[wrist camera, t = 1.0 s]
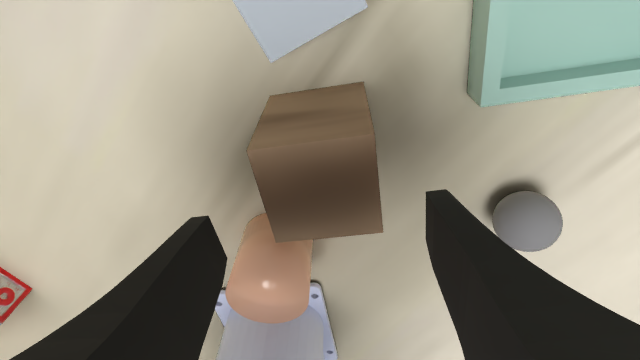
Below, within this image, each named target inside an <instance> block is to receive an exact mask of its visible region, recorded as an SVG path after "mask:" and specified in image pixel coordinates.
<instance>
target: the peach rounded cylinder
mask: <svg viewBox="0 0 640 360" xmlns="http://www.w3.org/2000/svg"><path fill="white" fill-rule="evenodd" d="M312 250H313V239H312V240H302V241H292V242H282V243H276V242H275V238H274V235H273V232H272V229H271V226H270V223H269V220H268V217H267V213H264V214H261V215H258V216H256V217H255V218H253V219H252V220H251V221H250V222H249V223H248V224H247V225H246V227H245V230H244V233H243V236H242V239H241V243H240V246H239V249H238V252H237V255H236V258H235V262H234V265H233V268H232V271H231V274H230V278H229V281H228V284H227V287H226V291H225V295H226V299H227V302H228V304H229V305H230V306H231V308H232V309H233V310H234V311H236V312H237V313H238V314H240V315H241V316H243V317H245V318H247V319H250V320H253V321H256V322H261V323H270V324H274V323H284V322H288V321H291V320H293V319H296V318H297V317H299V316H300V315H302V314H303V313H304V312H305V310H306V309H307V307H308V304H309V293H310V278H311V264H312Z"/></svg>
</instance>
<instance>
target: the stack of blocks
mask: <svg viewBox="0 0 640 360" xmlns="http://www.w3.org/2000/svg"><path fill="white" fill-rule="evenodd" d="M31 290H32V288H31V287H29V286H28V285H26V284H25V283H23V282H22V281H20V280H19V279H17V278H16V277H14V276H13V275H11V274H10V273H8V272H7V271H5V270H4V269H2V268H1V267H0V325H1V324H2V323H3V322H4V321H5V320H6V319H7V318H8V317H9V315H10V314H11V313H12V312H13V311H14V309H15V308H16V307H17V306H18V305H19V304H20V303H21V301H22V300H23V299H24V298H25V297H26V296H27V295H28V294H29V293H30V292H31Z"/></svg>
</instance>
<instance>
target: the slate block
mask: <svg viewBox="0 0 640 360" xmlns="http://www.w3.org/2000/svg"><path fill="white" fill-rule="evenodd" d="M233 2H234V4H235V5H236V7H237V9H238V10H239V12H240V14H241V15H242V17H243V18H244V20H245V22H246V23H247V25H248V27H249V28H250V30H251V31H252V33H253V35H254V36H255V38H256V40H257V41H258V43H259V45H260V46H261V48H262V49H263V51H264V53H265V54H266V56H267V58H268V59H269V61H270V62H271V63H272V62H274V61H275V60H277V59H279V58H281V57H282V56H284V55H286V54H287V53H289V52H291V51H293V50H294V49H296V48H298V47H300V46H301V45H303V44H305V43H307V42H308V41H310V40H312V39H313V38H315V37H317V36H319V35H320V34H322V33H324V32H326V31H327V30H329V29H331V28H333V27H334V26H336V25H338V24H339V23H341V22H343V21H345V20H346V19H348V18H350V17H352V16H353V15H355V14H357V13H359V12H360V11H362V10H364V9H365V8H367V7H368V6H367V3H366V1H365V0H233Z"/></svg>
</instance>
